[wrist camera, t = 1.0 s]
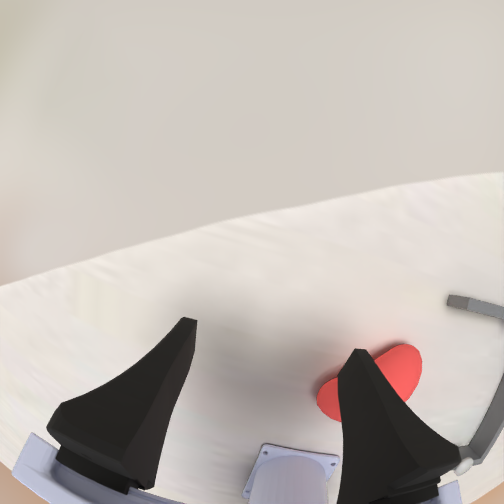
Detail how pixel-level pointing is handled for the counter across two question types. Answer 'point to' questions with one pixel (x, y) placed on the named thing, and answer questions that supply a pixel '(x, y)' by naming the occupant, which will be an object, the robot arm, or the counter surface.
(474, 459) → the gray u-shaped bracket
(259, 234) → the counter surface
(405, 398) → the red kidney bean shape
